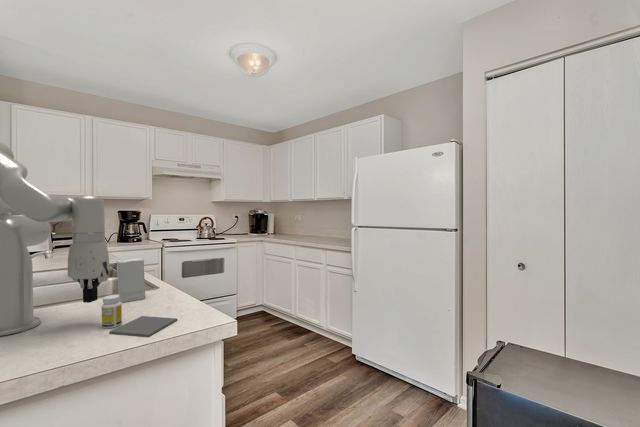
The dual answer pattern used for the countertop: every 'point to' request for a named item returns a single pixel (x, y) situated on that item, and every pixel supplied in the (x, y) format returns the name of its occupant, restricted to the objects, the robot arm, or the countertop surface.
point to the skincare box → (131, 279)
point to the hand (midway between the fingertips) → (90, 301)
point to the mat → (143, 326)
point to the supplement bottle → (111, 311)
